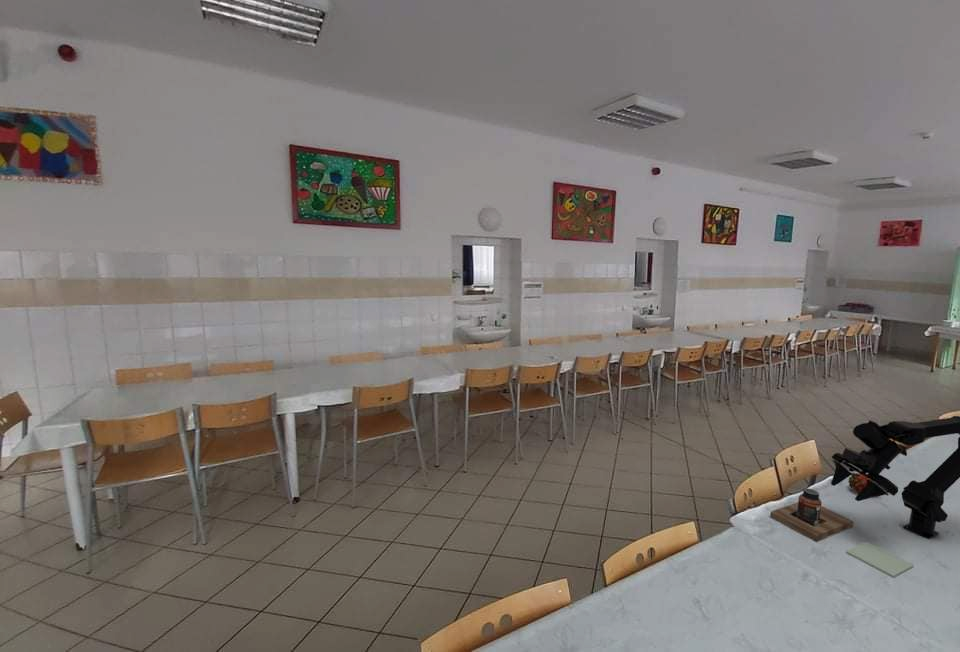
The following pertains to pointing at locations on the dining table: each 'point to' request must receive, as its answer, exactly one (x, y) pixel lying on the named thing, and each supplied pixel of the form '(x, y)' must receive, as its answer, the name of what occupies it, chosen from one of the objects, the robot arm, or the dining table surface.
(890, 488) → the robot arm
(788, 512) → the socket board
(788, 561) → the dining table surface
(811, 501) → the supplement bottle
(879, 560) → the sage pad
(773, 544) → the dining table surface
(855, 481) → the dragon fruit
